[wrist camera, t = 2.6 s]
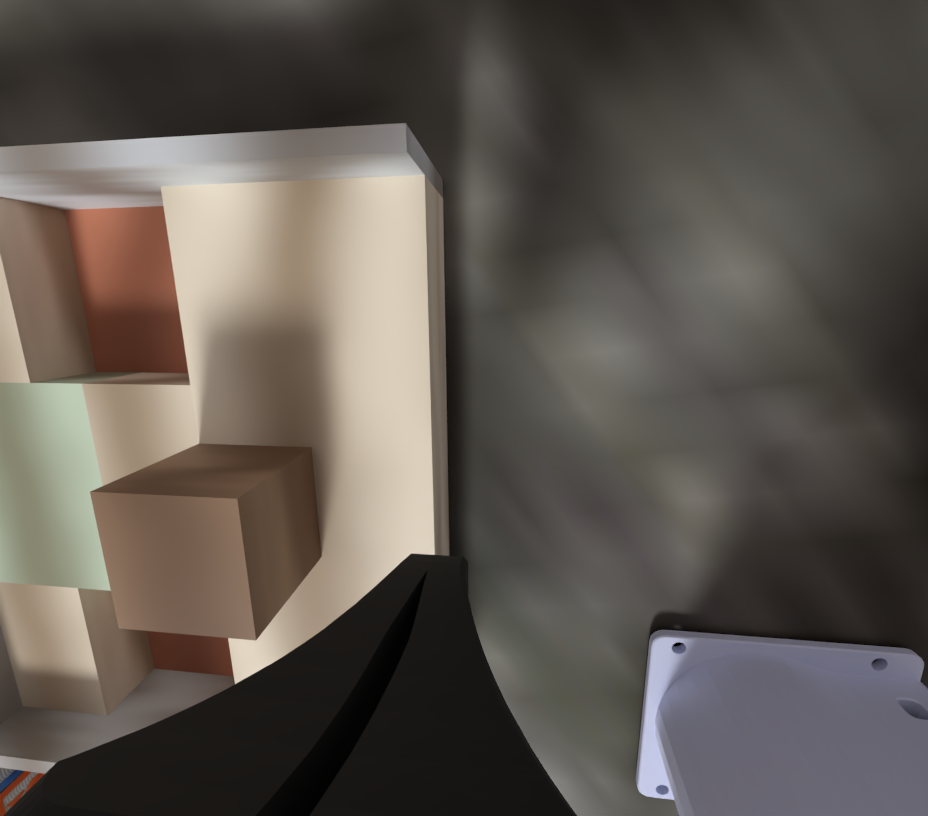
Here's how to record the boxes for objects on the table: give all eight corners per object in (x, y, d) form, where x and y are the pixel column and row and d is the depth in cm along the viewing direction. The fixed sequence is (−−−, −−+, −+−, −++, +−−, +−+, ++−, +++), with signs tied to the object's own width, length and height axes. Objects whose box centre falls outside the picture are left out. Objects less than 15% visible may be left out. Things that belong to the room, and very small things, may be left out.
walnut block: (311, 447, 15) (237, 498, 11) (321, 557, 16) (256, 640, 12) (198, 443, 15) (89, 491, 11) (214, 550, 16) (118, 628, 12)
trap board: (442, 179, 15) (405, 122, 10) (452, 699, 20) (429, 825, 15) (-37, 200, 18) (-248, 161, 13) (76, 662, 22) (-47, 761, 18)
